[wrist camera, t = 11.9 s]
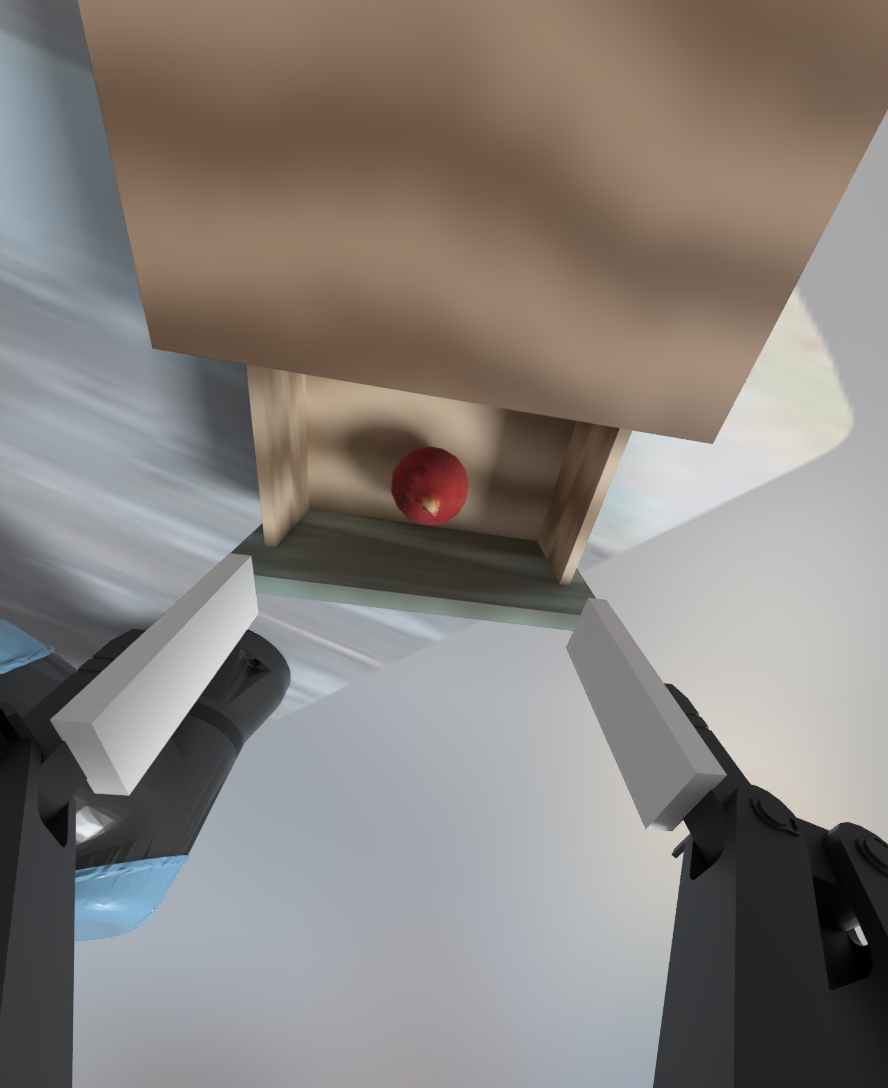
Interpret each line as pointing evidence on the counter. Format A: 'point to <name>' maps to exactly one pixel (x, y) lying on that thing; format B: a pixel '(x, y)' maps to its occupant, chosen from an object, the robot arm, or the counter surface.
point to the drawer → (402, 544)
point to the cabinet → (487, 187)
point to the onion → (429, 485)
